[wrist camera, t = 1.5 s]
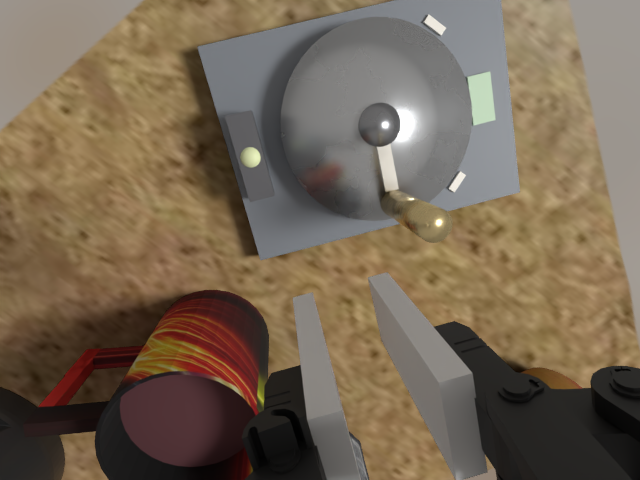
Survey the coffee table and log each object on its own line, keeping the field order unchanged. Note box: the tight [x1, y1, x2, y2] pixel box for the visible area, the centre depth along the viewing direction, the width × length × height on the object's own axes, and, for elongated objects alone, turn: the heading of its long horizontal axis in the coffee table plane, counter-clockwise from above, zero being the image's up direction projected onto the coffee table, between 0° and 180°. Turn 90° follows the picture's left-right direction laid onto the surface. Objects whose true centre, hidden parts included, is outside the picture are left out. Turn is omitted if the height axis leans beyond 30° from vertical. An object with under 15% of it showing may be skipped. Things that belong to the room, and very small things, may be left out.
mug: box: [23, 290, 269, 480], centre depth 29 cm, size 10×14×12 cm
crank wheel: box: [280, 17, 472, 243], centre depth 25 cm, size 14×14×9 cm
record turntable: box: [198, 0, 520, 260], centre depth 29 cm, size 22×16×4 cm
